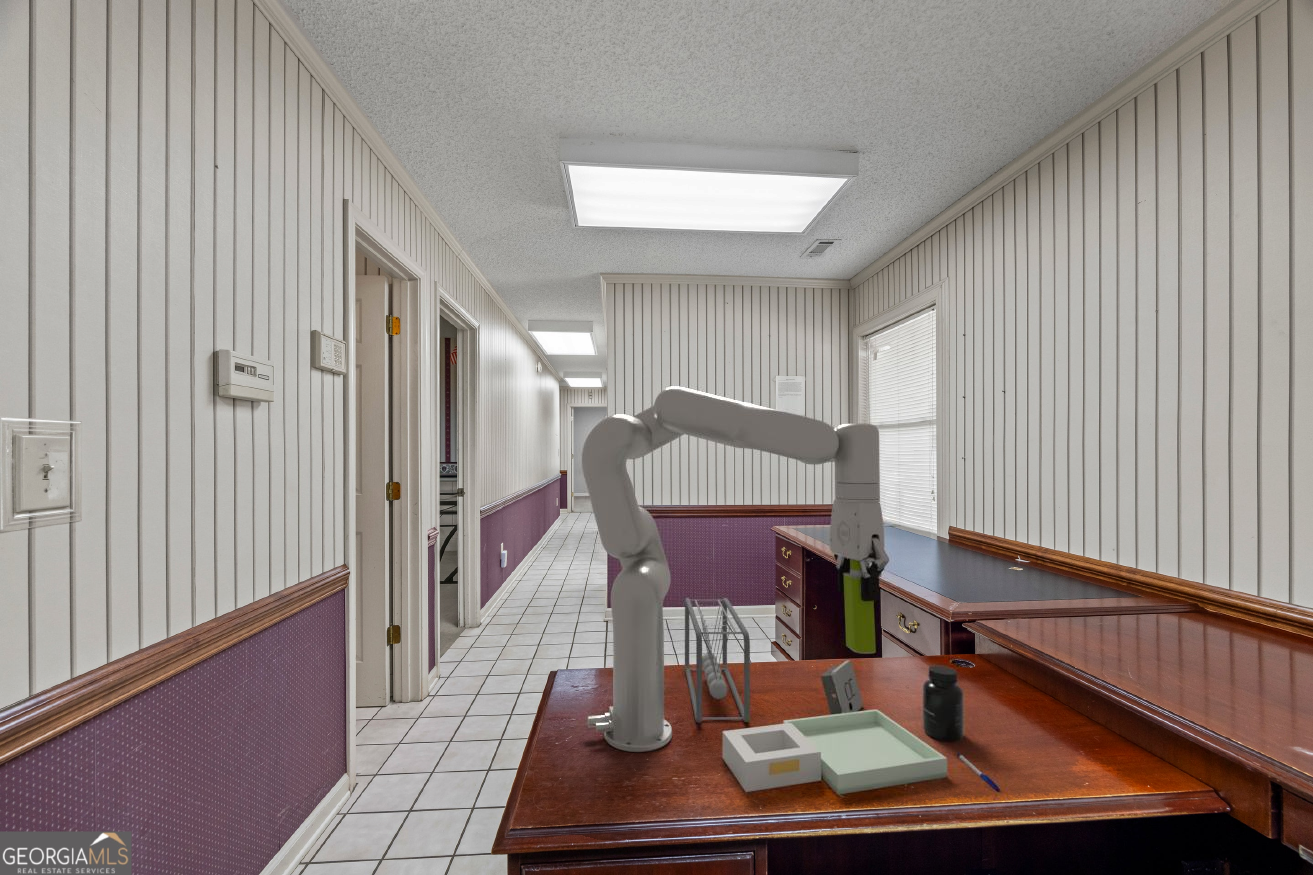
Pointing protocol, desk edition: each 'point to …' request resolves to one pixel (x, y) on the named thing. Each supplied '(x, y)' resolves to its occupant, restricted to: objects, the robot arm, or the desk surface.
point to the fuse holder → (771, 756)
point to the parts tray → (869, 751)
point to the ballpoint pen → (980, 773)
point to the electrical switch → (842, 689)
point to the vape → (858, 613)
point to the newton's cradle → (710, 661)
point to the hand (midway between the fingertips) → (858, 594)
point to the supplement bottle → (943, 705)
